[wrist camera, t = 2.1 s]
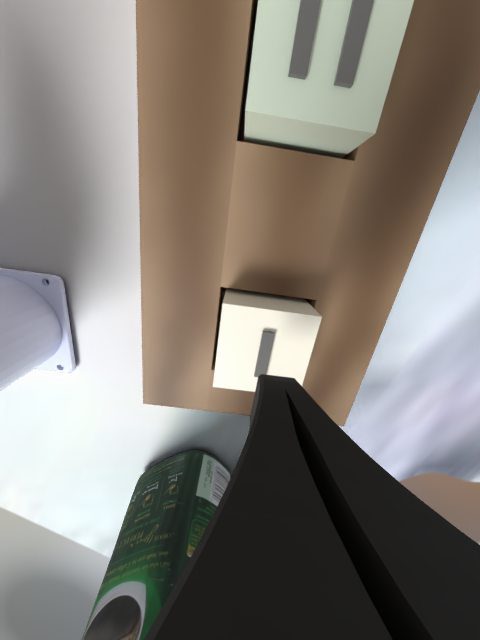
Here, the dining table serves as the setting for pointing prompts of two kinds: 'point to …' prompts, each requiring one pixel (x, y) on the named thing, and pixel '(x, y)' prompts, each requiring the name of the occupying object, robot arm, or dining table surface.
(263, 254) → the board
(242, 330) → the cream button
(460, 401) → the dining table surface
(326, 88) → the sage button
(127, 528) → the coffee jar
